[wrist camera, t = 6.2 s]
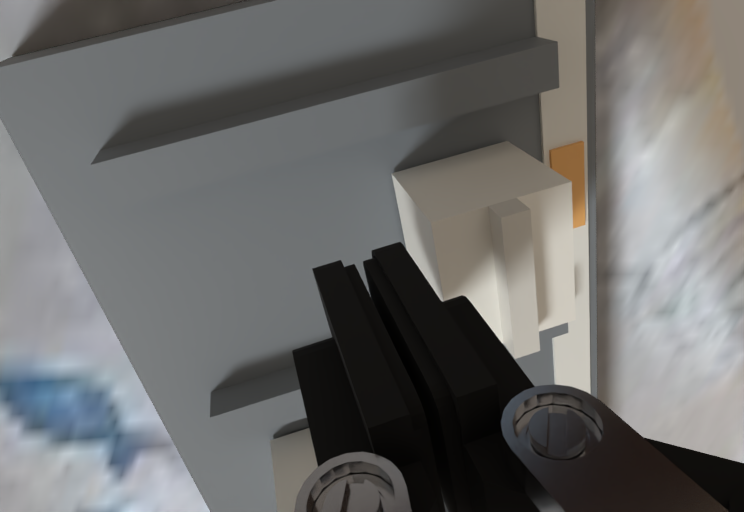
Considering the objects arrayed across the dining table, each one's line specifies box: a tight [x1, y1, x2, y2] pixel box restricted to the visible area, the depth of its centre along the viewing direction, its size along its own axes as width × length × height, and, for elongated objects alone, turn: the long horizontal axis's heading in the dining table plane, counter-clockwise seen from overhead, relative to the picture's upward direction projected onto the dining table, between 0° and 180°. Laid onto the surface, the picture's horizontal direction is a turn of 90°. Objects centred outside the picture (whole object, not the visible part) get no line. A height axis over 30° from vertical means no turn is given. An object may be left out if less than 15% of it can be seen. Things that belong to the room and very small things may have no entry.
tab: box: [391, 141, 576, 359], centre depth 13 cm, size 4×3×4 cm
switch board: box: [0, 0, 597, 512], centre depth 18 cm, size 26×13×3 cm, turn 12°
